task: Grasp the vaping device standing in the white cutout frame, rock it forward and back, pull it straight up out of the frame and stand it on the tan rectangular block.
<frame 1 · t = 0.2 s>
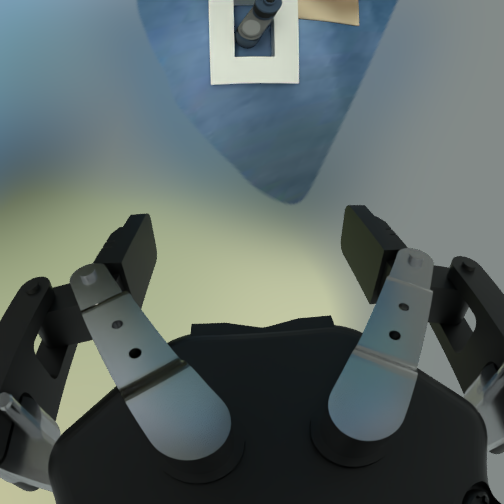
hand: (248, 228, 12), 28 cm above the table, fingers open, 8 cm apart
white cutout frame: (252, 31, 29), on the table
vaping device: (252, 31, 30), resting in white cutout frame
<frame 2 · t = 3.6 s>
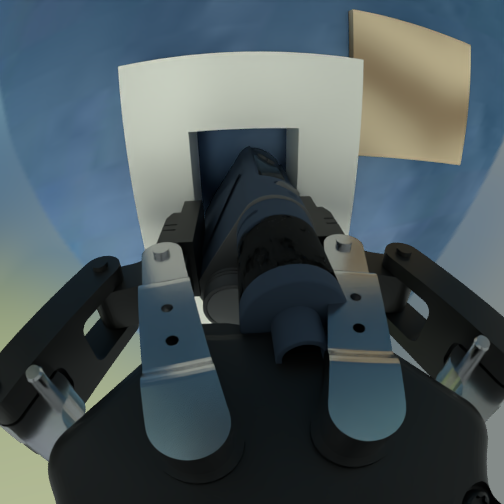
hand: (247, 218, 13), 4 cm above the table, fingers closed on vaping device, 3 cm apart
white cutout frame: (243, 188, 16), on the table
tan rectangular block: (413, 90, 13), on the table
vaping device: (243, 186, 16), resting in white cutout frame, touching gripper
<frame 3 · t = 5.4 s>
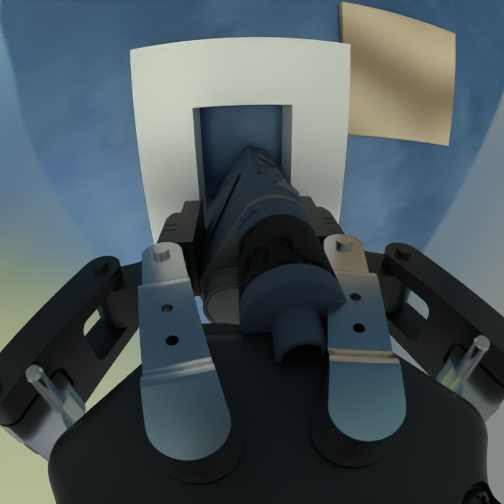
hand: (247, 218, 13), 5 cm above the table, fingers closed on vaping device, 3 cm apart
white cutout frame: (242, 164, 17), on the table
tan rectangular block: (400, 75, 14), on the table
vaping device: (243, 186, 16), point 1 cm above the table, touching gripper
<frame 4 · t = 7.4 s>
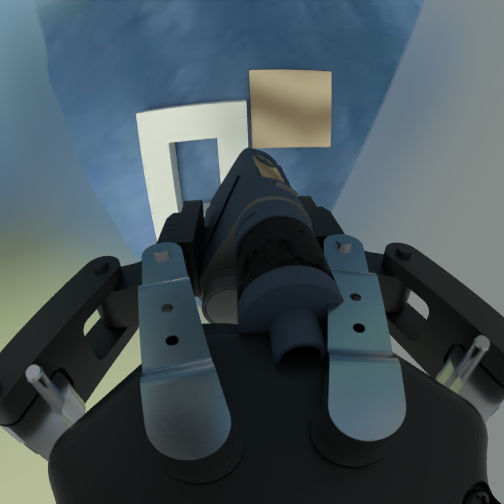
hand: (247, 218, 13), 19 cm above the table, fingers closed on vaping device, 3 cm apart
white cutout frame: (199, 169, 30), on the table
tan rectangular block: (290, 108, 28), on the table
vaping device: (242, 187, 16), point 15 cm above the table, touching gripper
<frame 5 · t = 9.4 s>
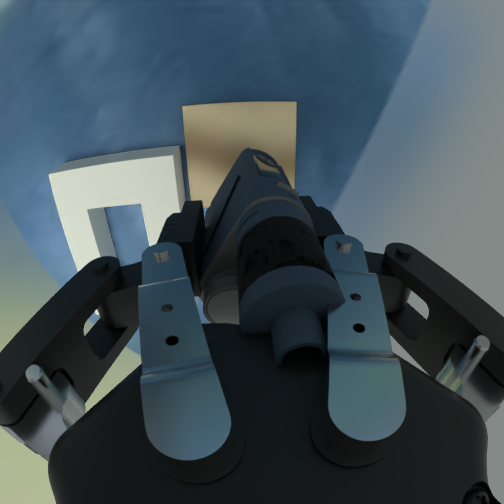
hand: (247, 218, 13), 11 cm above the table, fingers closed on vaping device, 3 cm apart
white cutout frame: (133, 231, 25), on the table
tan rectangular block: (240, 153, 22), on the table
vaping device: (243, 187, 16), point 7 cm above the table, touching gripper
when the fingers open (5 cm above the table, at t = 11.2 s): vaping device stays where it is, resting on tan rectangular block.
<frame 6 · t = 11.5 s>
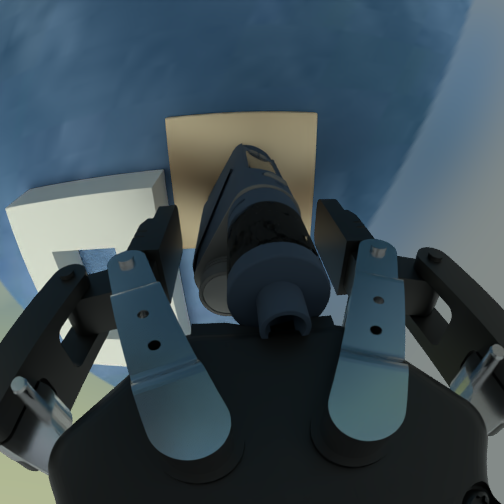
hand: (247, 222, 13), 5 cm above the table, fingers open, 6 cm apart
white cutout frame: (112, 272, 20), on the table
tan rectangular block: (243, 180, 17), on the table
vaping device: (238, 182, 17), resting on tan rectangular block
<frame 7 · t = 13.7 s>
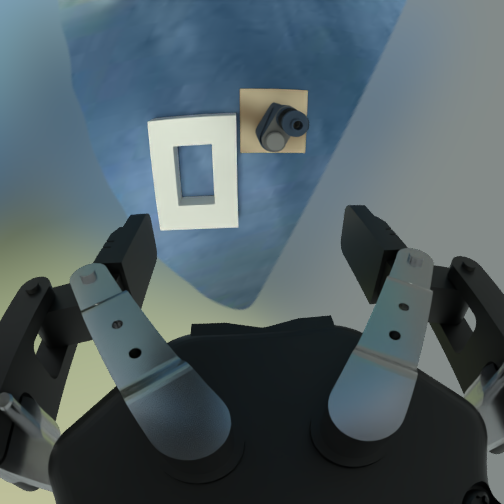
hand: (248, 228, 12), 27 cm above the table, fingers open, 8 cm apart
white cutout frame: (196, 168, 37), on the table
tan rectangular block: (273, 120, 34), on the table
vaping device: (271, 120, 34), resting on tan rectangular block
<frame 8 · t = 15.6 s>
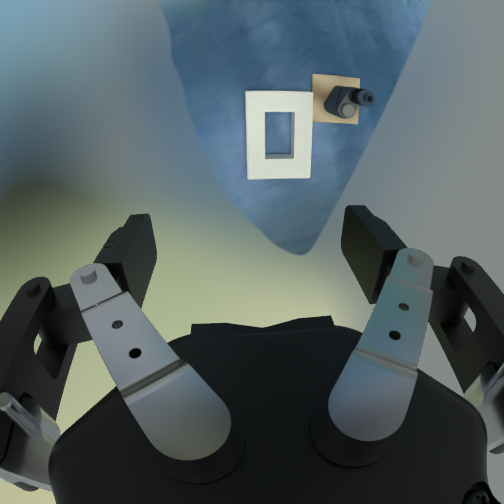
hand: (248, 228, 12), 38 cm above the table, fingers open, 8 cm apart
white cutout frame: (277, 132, 46), on the table
tan rectangular block: (335, 98, 43), on the table
vaping device: (334, 98, 43), resting on tan rectangular block
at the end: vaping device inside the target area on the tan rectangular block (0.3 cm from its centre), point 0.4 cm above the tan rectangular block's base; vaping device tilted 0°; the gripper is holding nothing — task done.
